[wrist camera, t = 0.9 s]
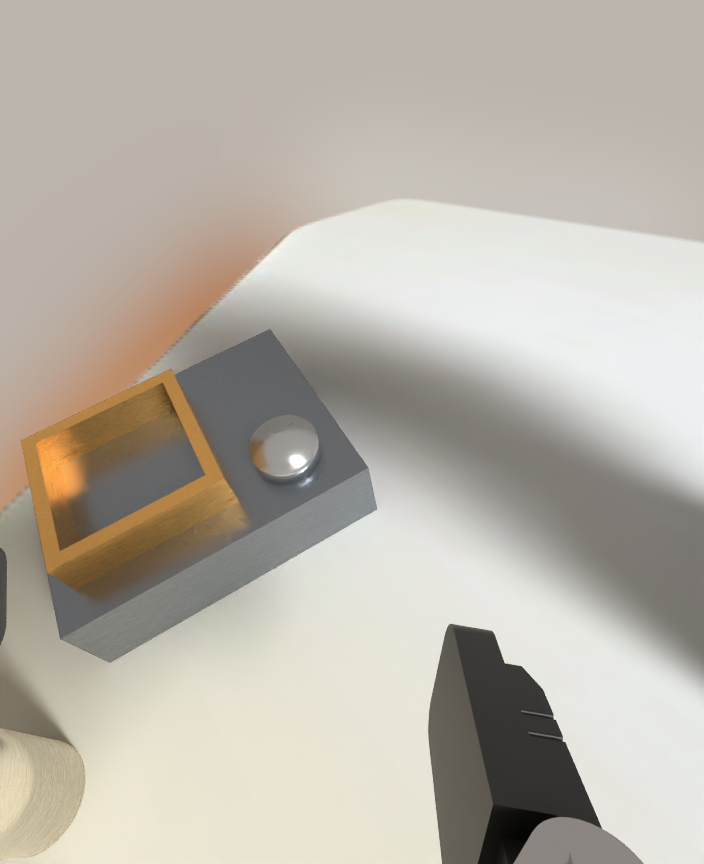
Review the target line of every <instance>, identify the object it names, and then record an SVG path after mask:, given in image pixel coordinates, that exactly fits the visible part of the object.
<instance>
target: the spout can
mask: <svg viewBox="0 0 704 864" xmlns="http://www.w3.org/2000/svg"><path fill="white" fill-rule="evenodd" d="M84 787H85V770H84V765H83V761H82V759H81V757H80V755H79V753H78V752H77V751H76V750H75V748H74V747H72V746H71V745H70V744H68V743H66V742H63V741H59V740H55V739H50V738H45V737H40V736H36V735H31V734H26V733H22V732H17V731H12V730H7V729H3V728H0V860H5V859H17V858H26V857H31V856H34V855H36V854H39V853H41V852H42V851H44V850H46V849H47V848H49V847H50V846H51V845H53V844H54V843H55V842H56V841H57V840H58V839H59V838H60V837H61V836H62V835H63V834H64V832H65V831H66V830H67V829H68V827H69V826H70V824H71V823H72V821H73V819H74V817H75V815H76V813H77V811H78V809H79V806H80V804H81V801H82V797H83V793H84Z"/></svg>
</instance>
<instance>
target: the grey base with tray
mask: <svg viewBox="0 0 704 864" xmlns="http://www.w3.org/2000/svg"><path fill="white" fill-rule="evenodd" d="M21 444H22V449H23V454H24V458H25V464H26V469H27V474H28V479H29V484H30V489H31V494H32V499H33V504H34V509H35V515H36V520H37V525H38V530H39V535H40V540H41V545H42V550H43V555H44V560H45V565H46V570H47V575H48V580H49V585H50V590H51V595H52V600H53V605H54V610H55V615H56V620H57V625H58V630H59V635H60V639H61V640H64V641H66V642H68V643H70V644H72V645H74V646H76V647H78V648H80V649H82V650H84V651H87V652H89V653H91V654H93V655H95V656H97V657H99V658H101V659H103V660H105V661H108V662H112V661H113V660H115V659H117V658H119V657H120V656H122V655H124V654H126V653H127V652H129V651H131V650H133V649H134V648H136V647H138V646H140V645H141V644H143V643H145V642H147V641H148V640H150V639H152V638H154V637H155V636H157V635H159V634H160V633H162V632H164V631H166V630H167V629H169V628H171V627H173V626H174V625H176V624H178V623H180V622H181V621H183V620H185V619H187V618H188V617H190V616H192V615H194V614H195V613H197V612H199V611H201V610H202V609H204V608H206V607H207V606H209V605H211V604H213V603H214V602H216V601H218V600H220V599H221V598H223V597H225V596H227V595H228V594H230V593H232V592H234V591H235V590H237V589H239V588H241V587H242V586H244V585H246V584H248V583H249V582H251V581H253V580H255V579H256V578H258V577H260V576H261V575H263V574H265V573H267V572H268V571H270V570H272V569H274V568H275V567H277V566H279V565H281V564H282V563H284V562H286V561H288V560H289V559H291V558H293V557H295V556H296V555H298V554H300V553H302V552H303V551H305V550H307V549H308V548H310V547H312V546H314V545H315V544H317V543H319V542H321V541H322V540H324V539H326V538H328V537H329V536H331V535H333V534H335V533H336V532H338V531H340V530H342V529H343V528H345V527H347V526H349V525H350V524H352V523H354V522H356V521H357V520H359V519H361V518H362V517H364V516H366V515H368V514H369V513H371V512H373V511H375V510H376V509H377V506H376V502H375V497H374V492H373V488H372V483H371V478H370V474H369V469H368V467H367V465H366V464H365V463H364V461H363V460H362V458H361V457H360V455H359V454H358V453H357V451H356V450H355V448H354V447H353V446H352V444H351V443H350V441H349V440H348V439H347V437H346V436H345V434H344V433H343V431H342V430H341V429H340V427H339V426H338V424H337V423H336V422H335V420H334V419H333V417H332V416H331V415H330V413H329V412H328V410H327V409H326V407H325V406H324V405H323V403H322V402H321V400H320V399H319V398H318V396H317V395H316V393H315V392H314V390H313V389H312V388H311V386H310V385H309V383H308V382H307V381H306V379H305V378H304V376H303V375H302V374H301V372H300V371H299V369H298V368H297V366H296V365H295V364H294V362H293V361H292V359H291V358H290V357H289V355H288V354H287V352H286V351H285V350H284V348H283V347H282V345H281V344H280V342H279V341H278V340H277V338H276V337H275V335H274V334H273V333H272V331H271V330H267V331H265V332H263V333H261V334H259V335H257V336H255V337H253V338H251V339H249V340H247V341H245V342H242V343H240V344H238V345H236V346H234V347H232V348H230V349H228V350H226V351H224V352H222V353H220V354H217V355H215V356H213V357H211V358H209V359H207V360H205V361H203V362H201V363H199V364H197V365H194V366H192V367H190V368H188V369H186V370H184V371H182V372H180V373H178V374H176V375H174V373H173V371H172V370H171V369H170V370H168V371H165V372H163V373H161V374H159V375H157V376H155V377H153V378H151V379H149V380H147V381H144V382H142V383H140V384H138V385H136V386H134V387H132V388H130V389H128V390H126V391H123V392H121V393H119V394H117V395H115V396H113V397H111V398H109V399H107V400H105V401H102V402H100V403H98V404H96V405H95V406H92V407H90V408H88V409H86V410H84V411H82V412H79V413H77V414H75V415H73V416H71V417H69V418H67V419H65V420H63V421H61V422H59V423H56V424H54V425H52V426H50V427H48V428H46V429H44V430H42V431H40V432H37V433H35V434H33V435H31V436H29V437H27V438H25V439H23V440H21Z"/></svg>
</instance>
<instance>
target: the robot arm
mask: <svg viewBox="0 0 704 864" xmlns="http://www.w3.org/2000/svg"><path fill="white" fill-rule="evenodd" d="M6 590H7V560H6V555H5V552H4V551H3V550H2V549H1V548H0V645H1V642H2V640H3V637H4V634H5V629H6ZM428 734H429V747H430V756H431V765H432V774H433V783H434V792H435V801H436V811H437V820H438V829H439V838H440V847H441V856H442V864H643V862H642V861H641V860H640V859H639V858H638V857H637V856H636V855H635V854H634V853H633V852H632V851H631V850H630V849H629V848H628V847H627V846H626V845H625V844H623V843H622V842H621V841H620V840H618V839H617V838H616V837H614V836H613V835H611V834H610V833H608V832H606V831H605V830H603V829H602V827H601V825H600V823H599V820H598V818H597V816H596V813H595V811H594V809H593V806H592V804H591V802H590V799H589V797H588V795H587V792H586V790H585V787H584V785H583V783H582V780H581V778H580V776H579V773H578V771H577V769H576V766H575V764H574V762H573V759H572V757H571V755H570V752H569V750H568V748H567V745H566V743H565V742H563V736H562V733H561V731H560V729H559V726H558V724H557V722H556V720H554V719H553V712H552V710H551V708H550V705H549V703H548V701H547V698H546V696H545V693H544V691H543V689H542V688H541V687H540V686H539V685H538V684H537V683H536V682H535V680H534V679H533V678H532V677H531V676H530V675H529V674H528V673H527V672H526V671H525V670H524V668H523V667H522V666H517V665H511V664H505V663H504V660H503V658H502V655H501V652H500V649H499V646H498V643H497V640H496V637H495V635H494V633H493V632H492V631H490V630H484V629H478V628H472V627H466V626H460V625H454V624H450V625H449V626H448V628H447V630H446V633H445V637H444V642H443V646H442V651H441V656H440V660H439V665H438V670H437V674H436V679H435V684H434V688H433V693H432V698H431V703H430V711H429V726H428Z"/></svg>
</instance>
